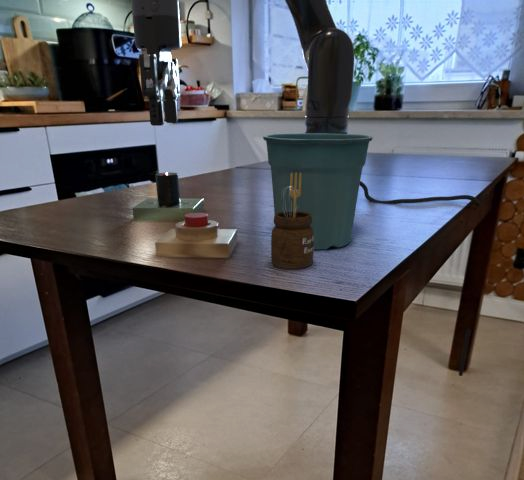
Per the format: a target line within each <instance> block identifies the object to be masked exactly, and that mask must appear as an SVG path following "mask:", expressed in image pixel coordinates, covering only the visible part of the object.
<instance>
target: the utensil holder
mask: <svg viewBox="0 0 524 480" xmlns="http://www.w3.org/2000/svg"><path fill="white" fill-rule="evenodd" d="M301 176H302V174H301V173H299V189H298V190H297V173H295V183H294V187H293V186H292V180H293V173H291V174H290V186H287V187H288V188H289V187H290V189H289V192H290V196H291V197H293V198H294V206H293V211H290V210H289V211H283V212H279V213H276V214H273V215H274V216H273V224H274V226H273V228H272V230H271V233H270V234H271V235H270V256H271V258H270V259H271V263H272V265H273V266H274V267H275V268H278V269H281V270H288V271H292V270H294V271H295V270H304V269H307V268H309V267H310V266H312V264H313V261H314V250H315V249H314V233H313V229H312V227H311V226H310V225H311V223H312V217H311V214H310V213H307V212H302V211H296V208H297V206H296V199H297V198H298V197H299V196H300V195H301ZM287 187H286V188H287ZM292 187H293V188H294V190H292V189H293V188H292ZM284 189H285V188H284ZM285 191H286V189H285ZM282 192H283V191H282ZM284 193H285V192H284ZM283 200H284V195H283ZM281 204H282V196H281ZM291 204H292V199H291ZM285 207H286V205H285ZM282 209H284V204H283V208H282ZM298 209H299V207H298ZM275 225H276V226H275Z"/></svg>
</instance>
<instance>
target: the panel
mask: <svg viewBox="0 0 524 480" xmlns="http://www.w3.org/2000/svg"><path fill="white" fill-rule="evenodd" d="M131 209H132V217H133V218H132V219H133V222H134V221H139V222H140V221H141V222H142V221H143V222H144V221H145V222H147V221H148V222H151V221H152V222H153V221H155V222H182V221H185V218H184V215H186V214H189V213H205V199H204V198H180V203H178V204H172V205H162V204H158V198H155V197H154V198H149V197H148V198H146V199H144V200H142V201H140V202H139V203H138V204H136V205H134V206H133V207H132V208H131Z"/></svg>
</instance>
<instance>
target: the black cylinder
mask: <svg viewBox="0 0 524 480" xmlns="http://www.w3.org/2000/svg"><path fill="white" fill-rule="evenodd" d="M154 176H155V177H154V178H155V185H156V186H155V188H156V196H157V198H158V204H162V205H172V204H178V203H180V199H181V194H180V182H179V173H178V172H167V171H166V172H158V173H155V175H154Z"/></svg>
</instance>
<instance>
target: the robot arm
mask: <svg viewBox="0 0 524 480" xmlns="http://www.w3.org/2000/svg"><path fill="white" fill-rule="evenodd" d="M284 1H285V4H286V5H287V8H288V9H289V13H290V14H291V17H292V20H293V22H294V26H295V28H296V32H297V36H298V39H299V42H300V47H301V50H302V54H303V59H304V62H305V66H306V69H307V91H306V92H307V93H306V100H305V108H304V109H305V110H304V113H305V114H304V117H305V119H304V133H329V134H348V129H349V115H350V114H349V113H350V106H351V102H352V96H353V85H354V73H355V72H354V70H355V47H354V44H353V43H354V42H353V41H352V38H351V37H350V35H349V34H347V32H346V31H344V30H342V29H341V28H338V27H337V26H336V24H335V21H334V19H333V16H332V14H331V11H330V8H329V5H328V2H327V0H284ZM179 3H180V2H179V0H130V5H131V15H132V24H133V26H132V27H133V35H134V36H133V37H134V45H135V48H137V49H138V50H142V51H146V53H140V54H139V55H138V64H139V75H140V86H141V87H140V88H141V95H142V97H145V99H146V101H147V102H148V113H149V122H150V125H151V126H153V127H159V126H160V127H161V126H164V124H165V123H167V124H176V123H178V122H179V118H178V117H179V116H178V115H179V114H178V103H177V101H178V98H179V97H180V96H181V86H180V76H179V61H178V59H177V58H172V53H171V51H176V50H180V49H181V48H182V38H181V37H182V35H181V20H180V7H179V5H180V4H179ZM359 187H361V189H362V190H363V194H364V197H365V200H367V201H368V202H370V203H371V202H372V203H379V204H388V205H398V204H399V205H400V204H421V203H430V202H451V201H459V200H466V201H467V200H468V201H471V202H473V203H474V204H475V205H477V206H479V207H480V206H483V203H482V201H481V200H479V199H478V198H477V197H475V196H473V195H469V194H458V195H451V196H430V197H420V198H419V197H418V198H397V199H390V200H389V199H388V200H380V199H375V198H373V197H372V196H371V195H369V189H368V187H367V185H366V183H364V182H363V181H361V180H360V185H359ZM471 332H472V328H466V332H465V337H464V343H463V346H462V351H461V352H462V353H461V357H460V358H461V359H460V365H459V370H458V376H460V377H463V376H464V375H463V374H464V370H465V369H464V368H465V363H466V357H467V351H468V346H469V341H470V336H471Z"/></svg>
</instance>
